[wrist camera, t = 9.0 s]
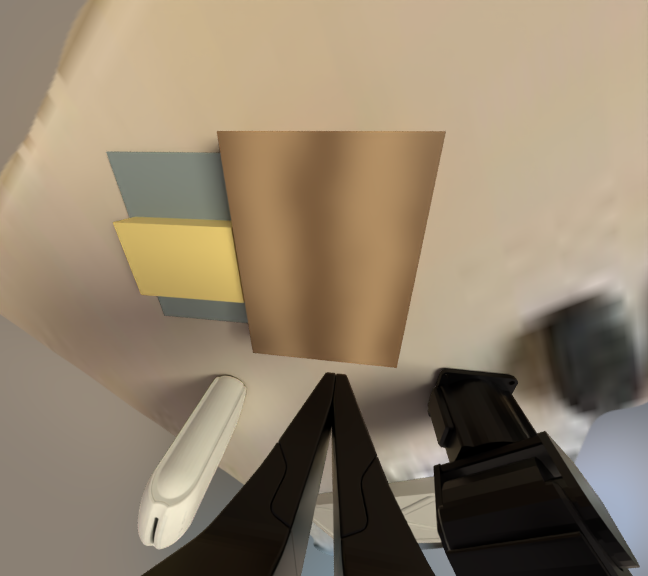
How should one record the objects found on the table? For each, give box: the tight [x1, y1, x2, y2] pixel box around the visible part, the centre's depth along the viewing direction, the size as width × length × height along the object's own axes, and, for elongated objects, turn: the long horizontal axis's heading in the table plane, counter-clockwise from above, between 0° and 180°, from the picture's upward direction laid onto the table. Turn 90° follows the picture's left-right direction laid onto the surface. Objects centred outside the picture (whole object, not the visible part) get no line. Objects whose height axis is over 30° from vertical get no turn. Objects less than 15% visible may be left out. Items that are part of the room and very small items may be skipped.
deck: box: [217, 131, 446, 368], centre depth 18 cm, size 12×16×3 cm
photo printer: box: [137, 376, 246, 549], centre depth 24 cm, size 10×4×12 cm, turn 159°
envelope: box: [313, 477, 441, 543], centre depth 36 cm, size 24×2×14 cm
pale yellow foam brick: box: [113, 217, 245, 303], centre depth 19 cm, size 9×6×2 cm, turn 89°
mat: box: [106, 152, 248, 323], centre depth 20 cm, size 10×14×1 cm
